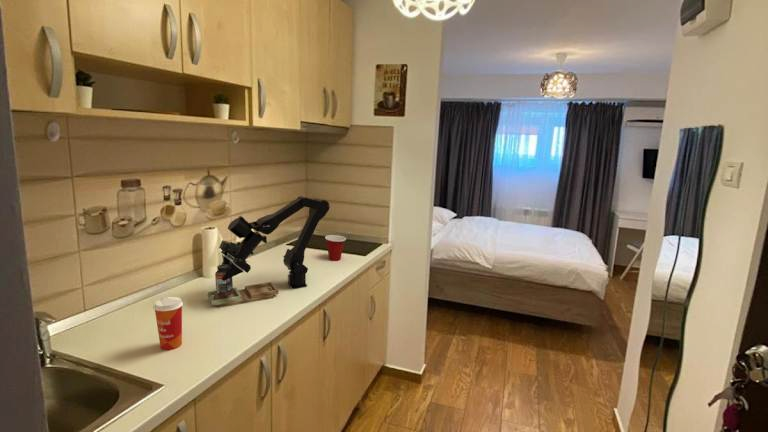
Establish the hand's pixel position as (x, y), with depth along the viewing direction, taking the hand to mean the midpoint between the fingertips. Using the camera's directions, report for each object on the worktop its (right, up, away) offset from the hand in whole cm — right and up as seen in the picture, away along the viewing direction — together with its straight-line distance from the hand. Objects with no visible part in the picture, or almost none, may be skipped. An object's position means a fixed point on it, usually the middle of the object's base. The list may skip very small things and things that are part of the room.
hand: (220, 277), depth 152 cm
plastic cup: (+36, 0, +59) cm, 69 cm away
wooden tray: (+7, -8, +6) cm, 12 cm away
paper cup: (-2, -16, -31) cm, 35 cm away
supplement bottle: (+1, -7, +2) cm, 7 cm away
